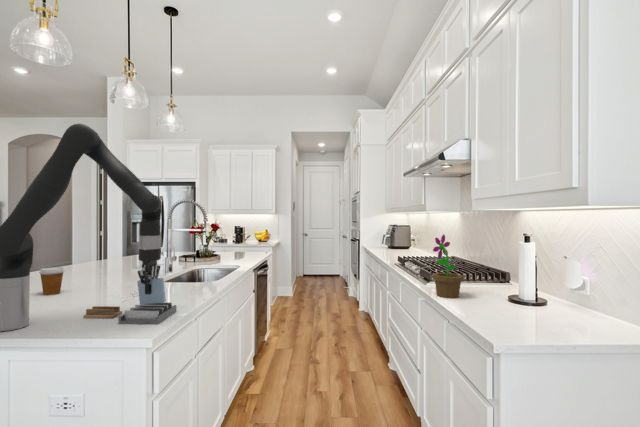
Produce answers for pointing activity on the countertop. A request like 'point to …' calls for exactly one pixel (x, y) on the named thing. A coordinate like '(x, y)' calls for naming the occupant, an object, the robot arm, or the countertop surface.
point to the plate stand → (102, 312)
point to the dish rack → (147, 313)
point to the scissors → (131, 296)
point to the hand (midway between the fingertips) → (149, 293)
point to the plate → (152, 292)
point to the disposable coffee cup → (51, 280)
